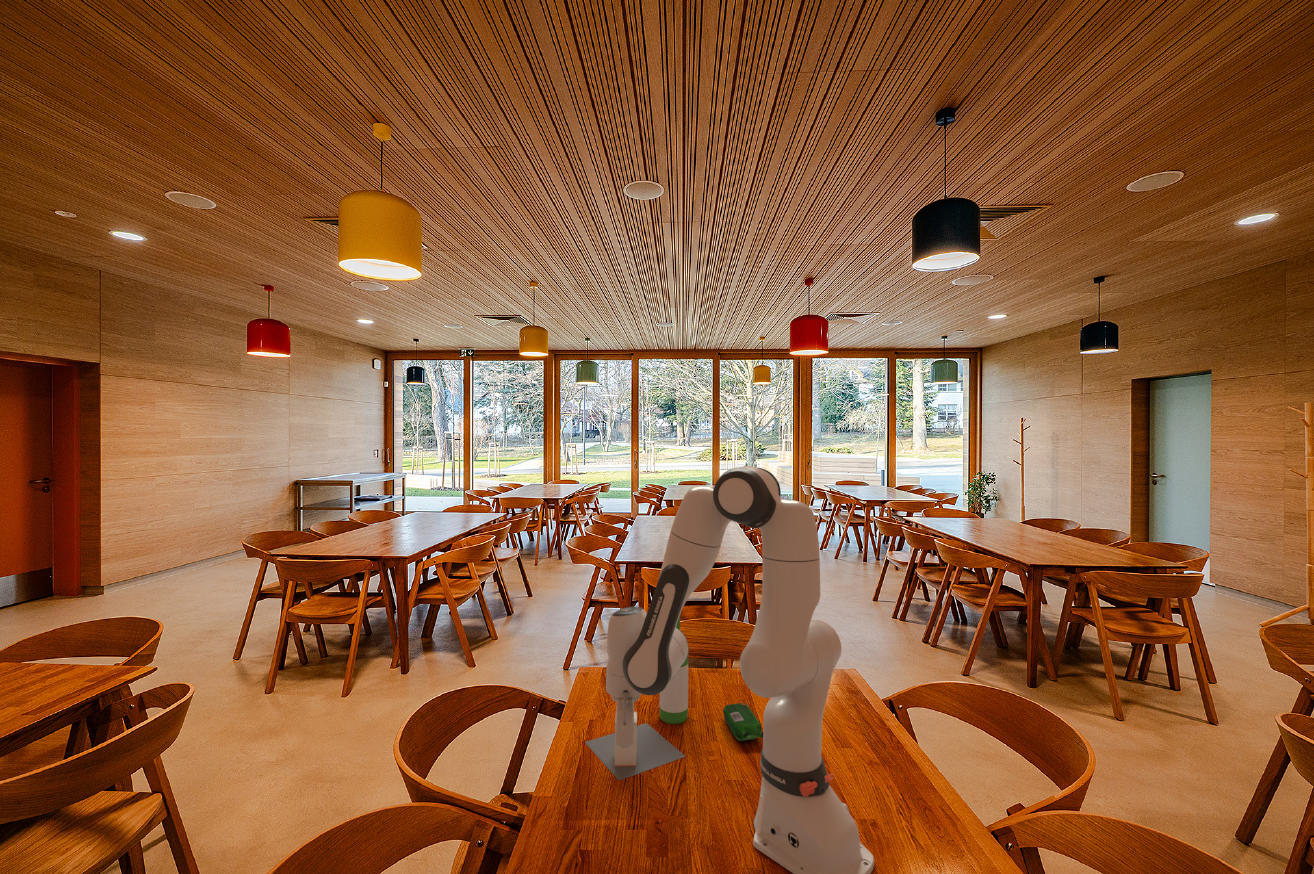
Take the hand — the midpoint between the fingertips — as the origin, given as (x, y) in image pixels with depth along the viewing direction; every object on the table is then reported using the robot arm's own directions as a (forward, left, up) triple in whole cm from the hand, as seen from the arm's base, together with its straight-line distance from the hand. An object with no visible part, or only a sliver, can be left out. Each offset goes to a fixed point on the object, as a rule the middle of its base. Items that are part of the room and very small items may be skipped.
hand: (625, 744), depth 118 cm
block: (+6, -4, -8) cm, 10 cm away
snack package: (+3, -37, -9) cm, 38 cm away
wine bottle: (+17, -25, -8) cm, 31 cm away
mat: (+9, -8, -8) cm, 15 cm away
